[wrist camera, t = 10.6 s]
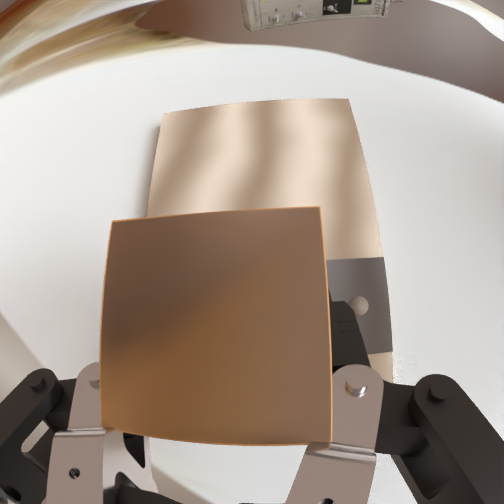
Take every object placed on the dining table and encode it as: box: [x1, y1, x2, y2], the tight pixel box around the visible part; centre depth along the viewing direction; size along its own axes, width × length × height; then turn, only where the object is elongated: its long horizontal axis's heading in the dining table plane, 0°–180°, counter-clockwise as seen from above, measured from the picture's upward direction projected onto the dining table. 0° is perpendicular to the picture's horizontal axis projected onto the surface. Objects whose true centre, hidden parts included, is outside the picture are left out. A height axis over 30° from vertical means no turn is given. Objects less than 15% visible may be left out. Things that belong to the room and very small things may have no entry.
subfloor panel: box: [146, 99, 393, 383], centre depth 21 cm, size 16×24×2 cm, turn 1°
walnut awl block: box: [100, 206, 333, 446], centre depth 11 cm, size 5×5×11 cm
